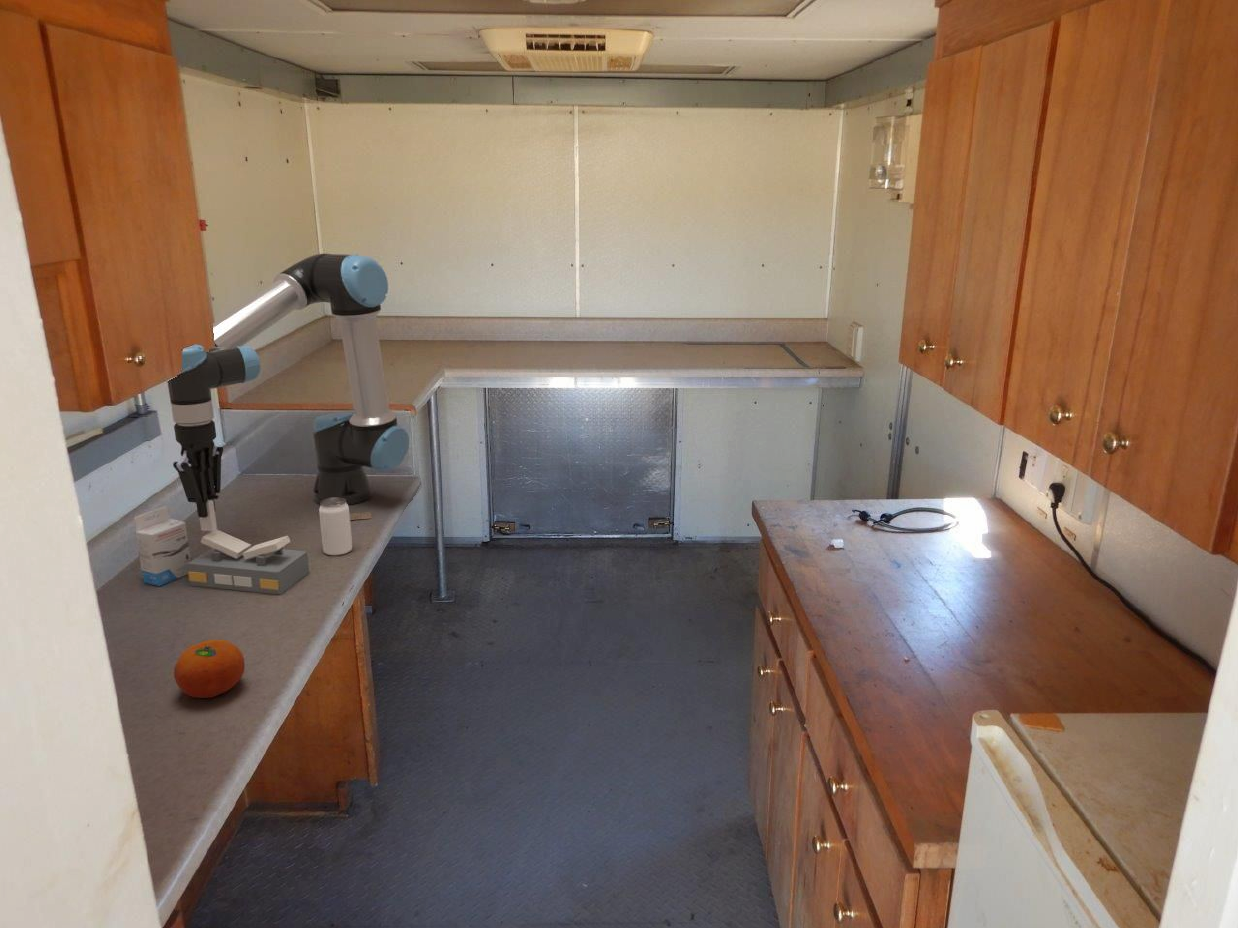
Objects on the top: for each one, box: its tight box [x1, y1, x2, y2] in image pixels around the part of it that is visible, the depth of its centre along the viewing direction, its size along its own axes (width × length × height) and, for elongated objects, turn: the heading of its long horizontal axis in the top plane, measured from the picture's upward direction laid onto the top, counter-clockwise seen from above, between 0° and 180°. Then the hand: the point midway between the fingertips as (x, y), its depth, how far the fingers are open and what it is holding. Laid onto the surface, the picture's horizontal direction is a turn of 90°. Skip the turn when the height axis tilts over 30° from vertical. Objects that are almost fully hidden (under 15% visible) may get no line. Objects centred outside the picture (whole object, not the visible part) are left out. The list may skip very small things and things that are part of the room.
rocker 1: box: [200, 528, 252, 559], centre depth 185 cm, size 5×8×2 cm, turn 78°
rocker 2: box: [242, 535, 291, 559], centre depth 183 cm, size 5×8×2 cm, turn 78°
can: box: [318, 498, 353, 557], centre depth 199 cm, size 6×6×12 cm
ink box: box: [133, 505, 192, 587], centre depth 185 cm, size 9×5×15 cm, turn 154°
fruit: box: [173, 638, 246, 699], centre depth 144 cm, size 11×10×8 cm
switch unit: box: [187, 545, 310, 596], centre depth 185 cm, size 11×21×7 cm, turn 78°
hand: (209, 529), depth 185 cm, fingers closed
